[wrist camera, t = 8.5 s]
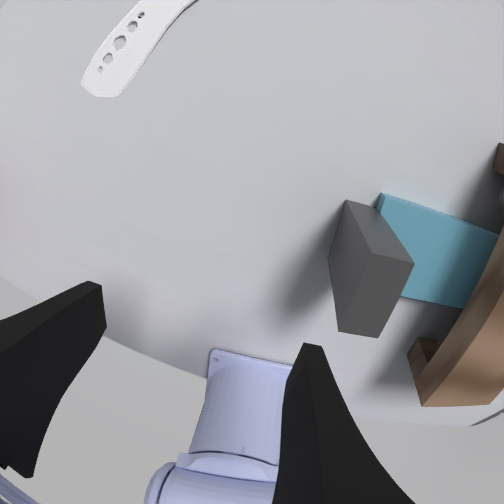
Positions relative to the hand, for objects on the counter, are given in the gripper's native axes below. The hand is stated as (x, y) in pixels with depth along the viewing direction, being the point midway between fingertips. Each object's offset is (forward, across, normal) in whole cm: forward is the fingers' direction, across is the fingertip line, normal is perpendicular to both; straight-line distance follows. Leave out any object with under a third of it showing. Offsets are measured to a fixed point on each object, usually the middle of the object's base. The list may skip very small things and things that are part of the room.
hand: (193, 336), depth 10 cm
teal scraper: (+10, -17, -2) cm, 20 cm away
